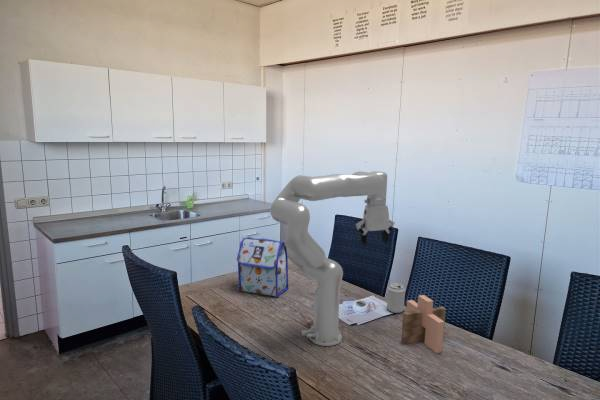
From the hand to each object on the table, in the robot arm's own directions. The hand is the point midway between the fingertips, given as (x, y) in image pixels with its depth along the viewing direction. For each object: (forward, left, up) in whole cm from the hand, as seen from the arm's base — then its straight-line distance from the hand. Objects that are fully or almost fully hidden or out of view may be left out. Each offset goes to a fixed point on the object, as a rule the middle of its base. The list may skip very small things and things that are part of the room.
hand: (374, 242), depth 166 cm
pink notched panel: (+12, -20, -34) cm, 41 cm away
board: (+12, -20, -34) cm, 41 cm away
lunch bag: (-36, +45, -35) cm, 67 cm away
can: (+16, +6, -34) cm, 38 cm away
